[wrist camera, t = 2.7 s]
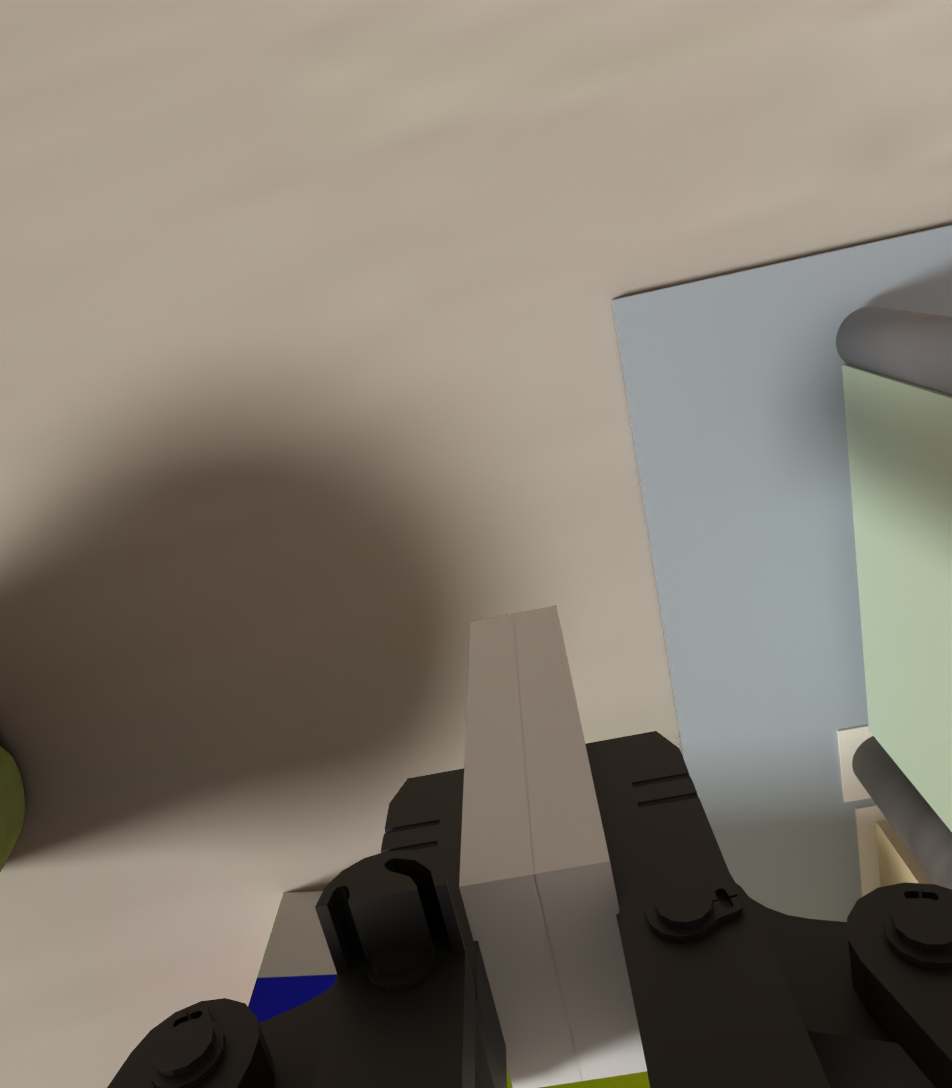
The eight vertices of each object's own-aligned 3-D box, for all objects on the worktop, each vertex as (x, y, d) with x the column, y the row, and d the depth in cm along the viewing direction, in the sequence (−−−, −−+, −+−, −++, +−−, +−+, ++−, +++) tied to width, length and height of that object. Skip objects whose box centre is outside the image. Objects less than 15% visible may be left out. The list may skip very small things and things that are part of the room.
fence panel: (833, 313, 19) (992, 340, 13) (895, 300, 19) (1084, 321, 13) (865, 731, 23) (1002, 901, 17) (917, 721, 23) (1074, 889, 17)
